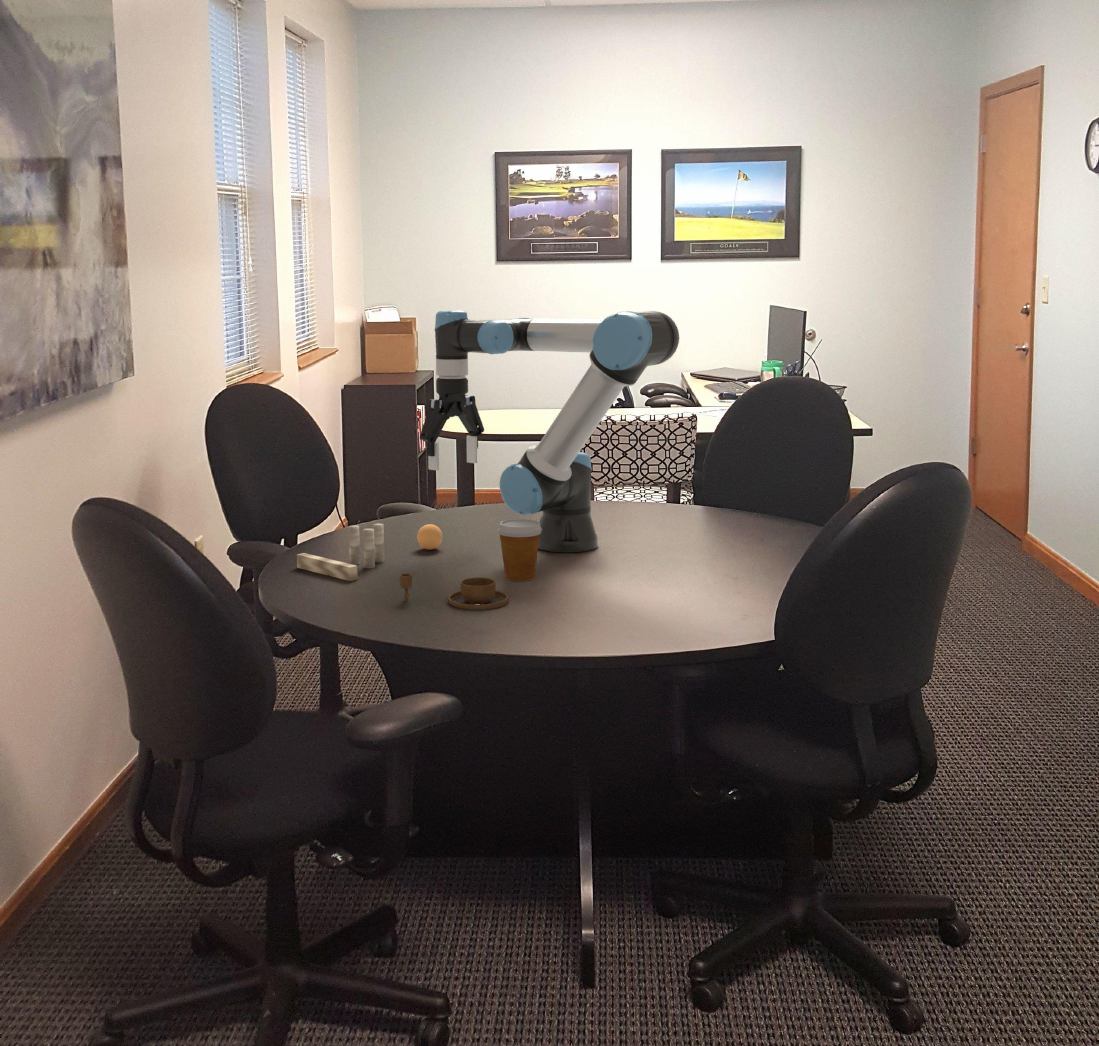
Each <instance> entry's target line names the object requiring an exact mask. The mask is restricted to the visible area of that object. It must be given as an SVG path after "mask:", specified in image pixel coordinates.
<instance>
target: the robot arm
mask: <svg viewBox="0 0 1099 1046" xmlns="http://www.w3.org/2000/svg"><path fill="white" fill-rule="evenodd" d="M434 323H435V324H434V334H435V335H434V338H435V370H436V371H435V373H436V376H437V377H436V379H435V389H436V390H435V392H436V393H437V394H438V399H435V398H434V399H433V398H430V399H429V400H428V409H427V412H426V415H425V419H424V421H423V426H422V428H421V431H420V434H419V439H420V441H421V440H422V441H423V442H425V443H426V456H427V457H428V459H427V460H428V461H427V462H428V465H427V467H428V470H430V471H440V448H439V447H440V446H439V445H440V442H438V441H437V440H438V438H439V436H440V434H441V432H442V430H443V428H444V426H445V425H446V423H447V421H448V420H449V419H450V418H454V417H457V418H459V419H458V420H459V421H460V422H461V424H462V425H463V427H464V428H465V430H466V431H467V433H468V434H469V435H466V463H468V464H469V463H470V464H477V463H478V449H479V437H481V436H482V435H483V433H484V432H485V427H484V425H483V421H482V419H481V416H480V414H479V413H480V412H479V410H478V407H477V404H476V397H475V395H468V394H467V393H469V379H468V378H467V376H468V375H469V358H468V356H469V354H468V353H476V354H489V355H498V354H499V355H500V354H505V353H508V352H519V351H520V352H521V351H523V352H524V351H525V352H527V351H528V352H561V353H562V352H564V353H567V352H568V353H589V355H588V356H589V360H590V366H589V367H588V369H587V370H586V372H585V373H584V375H583V376H582V378H581V379H580V381H579V382H578V383H577V385H576V386H575V389H574V390H573V391H572V393H571V394H570V396H569V398H568V399H567V401H566V402H565V404H563V407H562V408H561V410H560V411H559V412H558V414H557V415H556V418H555V419H554V420H553V421H552V423H551V425H550V426H549V428H548V429H547V431H546V432H545V434H544V435H543V436H542V438H541V440H540V442H539V443H538V444H532V445H530V446H528V447H527V449H526V450H525V452H524V453H523V455H522V457H520V459H519V461H518V462H517V463H514V464H510V465H509V466H507V467H506V468H505V469H504V470H503V471H502V473H501V475H500V478H499V482H498V483H499V484H498V485H499V490H500V494H501V495H500V496H501V498H502V501H503V503H504V504H505V505H506V506H507V507H508V508H509V509H510V510H511V511H512V512H514V513H515V514H517V515H535V514H537V513H539V512H540V513H541V517H540V519H539V521H538V522H539V523H540V526H541V528H542V531H541V534H540V537H539V545H538V550H542V551H546V552H553V553H581V552H582V553H583V552H587V551H592V550H594V549H597V547H599V546H598V543H599V541H598V539H599V538H598V537H599V536H598V535H597V533H596V530H595V526H594V521H593V517H592V514H591V513H592V512H591V511H592V509H591V506H592V505H591V504H592V503H591V501H592V471H593V468H592V459H591V456H590V455H589V454H588V453H586V452H582V449H583V447H584V446H585V445H586V443H587V442H588V441H589V439H590V437H592V434H593V433H594V431H595V430H596V429H597V427H598V426H599V424H600V423H601V421H602V420H603V418H604V417H605V416H606V414H607V413H608V411H609V410H610V408H611V407H612V405H613V404H614V402H615V401H616V399H617V398H618V397H619V395H620V394H621V392H622V391H623V389H624V388H625V387H631V386H634V385H635V384H636V383H637V382H638V380H639V378H640V377H641V376H642V374H643V372H644V371H645V370H646V368H647V367H651V366H656V365H660V364H661V365H662V364H664V363H665V362H667V361H669V360H670V359H671V358H672V357H673V356H674V354H675V353H676V352H677V349H678V347H679V343H680V333H679V328H678V326H677V323H676V322H675V321H674V320H673V318H672V317H671V316H669V315H668V314H665V313H664V312H661V311H656V310H646V311H630V310H629V311H627V310H626V311H625V310H624V311H619V312H617V313H613V314H611V315H608V316H607V317H605V318H603V319H601V318H596V319H595V318H594V319H593V318H589V319H588V318H587V319H586V318H584V319H583V318H529V317H518V318H508V319H507V318H505V319H469V318H468V312H467V311H465V310H439V311H437V312H436V314H435V322H434Z"/></svg>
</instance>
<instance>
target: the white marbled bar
mask: <svg viewBox="0 0 1099 1046" xmlns="http://www.w3.org/2000/svg"><path fill="white" fill-rule="evenodd" d="M296 565H297V566H296V568H298V569H302V570H306V571H309V572H312V573H317V574H321V575H325V576H328V575H329V577H332V578H336V579H340V580H344V581H347V582H348V581H349V582H352V581H356V580H358V565H352V564H349V563H347V562H344V561H340V560H334V559H331V558H326V557H322V556H318V555H314V554H310V553H306V552H303V553H298V554H296Z"/></svg>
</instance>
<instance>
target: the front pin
mask: <svg viewBox="0 0 1099 1046" xmlns="http://www.w3.org/2000/svg"><path fill="white" fill-rule="evenodd" d="M384 527H385V526H384V523H373V524H372V529H374V549H375V563H378V564H379V563H384V562H385V540H384V539H385V538H384V537H385V533H384V531H385V530H384Z"/></svg>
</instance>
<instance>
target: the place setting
mask: <svg viewBox="0 0 1099 1046" xmlns="http://www.w3.org/2000/svg"><path fill="white" fill-rule="evenodd" d="M399 583H400V587H401V589H403V592H404V593H403V598H404V600H403V601H404V602H409V601H410V599H409V597H410V594H409V589H410V588H412V586H413V574H412V573H401V574H399ZM496 586H497V585H496V580H495V579H493V578H489V577H468V578H464V579H462V580H461V581H460V590H458V591H455V592H452V593H451V594H449V595H448V596H447V597H448V598H447V599H448V603H449V605H451V606H452V607H454V606H455V608H457V607H458V608H457V609H461V608H464V609H463V610H469V609H473V610H474V609H478V610H479V609H485V610H492V609H491V608H493V609H498V608H501V607H504V606H505V605H506V604H507V603H508V601H509V596H508V594H507V593H505V592H503V591H500V590H496ZM460 596H462V597H460ZM495 596H497V597H496V598H499V597H500V599H502V600H500V601H497V602H491V603H489V601H491V600H492V599H493V598H494V597H495ZM456 597H459V598H463V599H464V600H465V601H467V603H462V602H457V601H455V599H454V598H456ZM453 599H454V600H453ZM456 599H457V598H456ZM452 600H453V601H452ZM468 602H469V603H468ZM487 602H488V603H487ZM470 603H471V604H470ZM485 603H486V604H485ZM475 604H480V605H475ZM426 608H428V609H430V608H431V605H429V606H427V607H426ZM473 610H472V611H473ZM474 611H475V610H474ZM479 611H480V610H479Z"/></svg>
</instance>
